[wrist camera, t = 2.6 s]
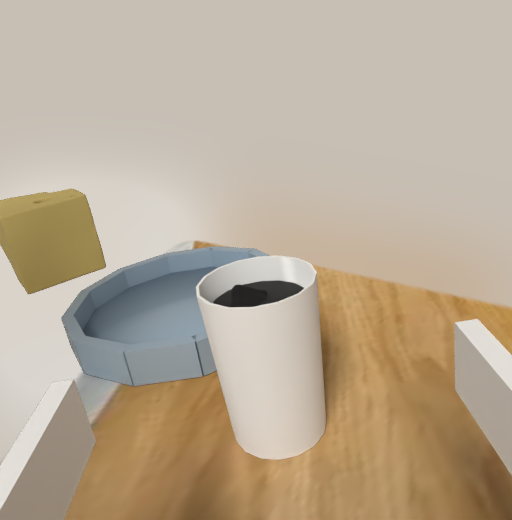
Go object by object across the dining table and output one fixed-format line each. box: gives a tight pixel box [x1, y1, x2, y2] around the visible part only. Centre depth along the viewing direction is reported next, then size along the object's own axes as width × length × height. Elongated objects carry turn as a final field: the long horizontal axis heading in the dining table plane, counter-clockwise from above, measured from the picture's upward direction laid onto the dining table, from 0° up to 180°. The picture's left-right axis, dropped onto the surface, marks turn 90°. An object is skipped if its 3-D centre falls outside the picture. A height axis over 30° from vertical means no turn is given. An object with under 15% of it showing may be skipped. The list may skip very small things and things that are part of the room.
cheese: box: [0, 189, 106, 294], centre depth 60 cm, size 10×11×10 cm
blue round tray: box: [62, 246, 270, 386], centre depth 44 cm, size 20×20×3 cm
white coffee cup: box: [196, 256, 326, 460], centre depth 28 cm, size 7×7×10 cm
